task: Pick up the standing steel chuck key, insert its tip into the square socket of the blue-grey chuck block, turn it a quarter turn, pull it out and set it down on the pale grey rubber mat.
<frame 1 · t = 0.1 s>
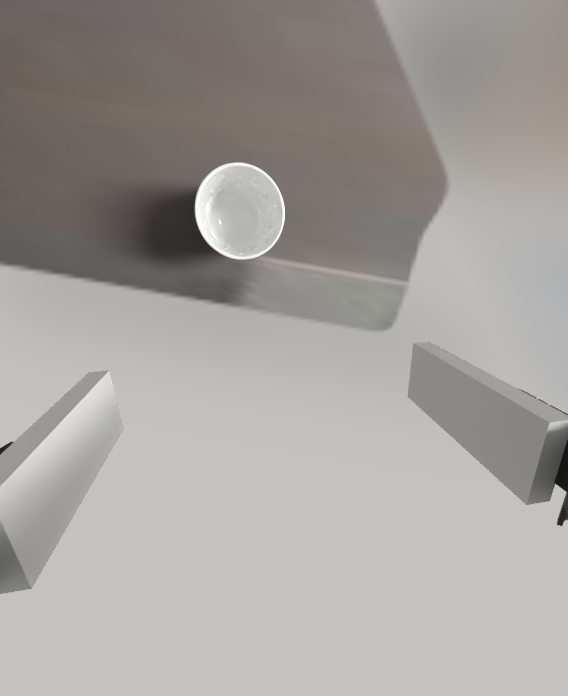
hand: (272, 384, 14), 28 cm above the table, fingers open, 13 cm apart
white cup: (238, 219, 37), on the table
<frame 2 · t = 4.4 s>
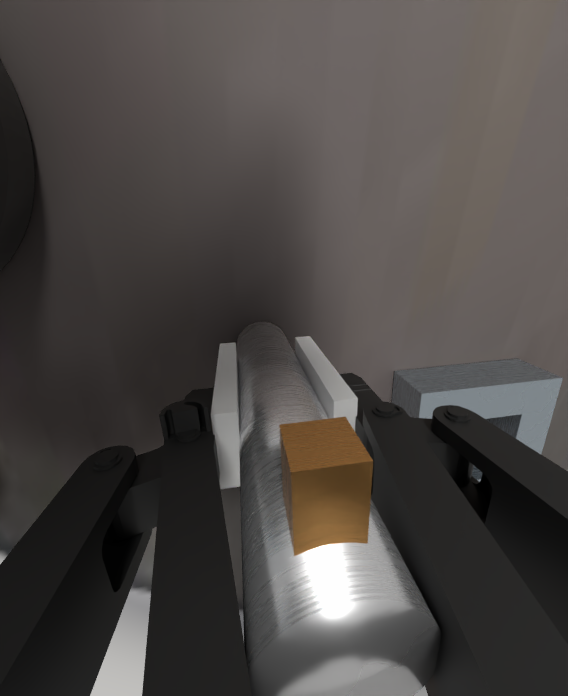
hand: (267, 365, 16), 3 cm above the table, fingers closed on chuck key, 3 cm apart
chuck block: (448, 422, 23), on the table
chuck key: (262, 346, 19), on the table, touching gripper
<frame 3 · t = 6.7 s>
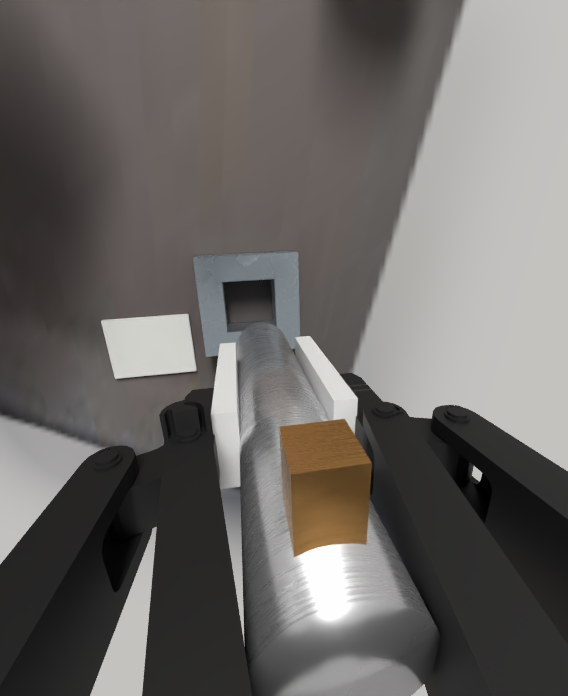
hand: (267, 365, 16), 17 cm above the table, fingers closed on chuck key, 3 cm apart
chuck block: (248, 299, 31), on the table
chuck key: (262, 347, 19), point 14 cm above the table, touching gripper
mat: (152, 345, 32), on the table
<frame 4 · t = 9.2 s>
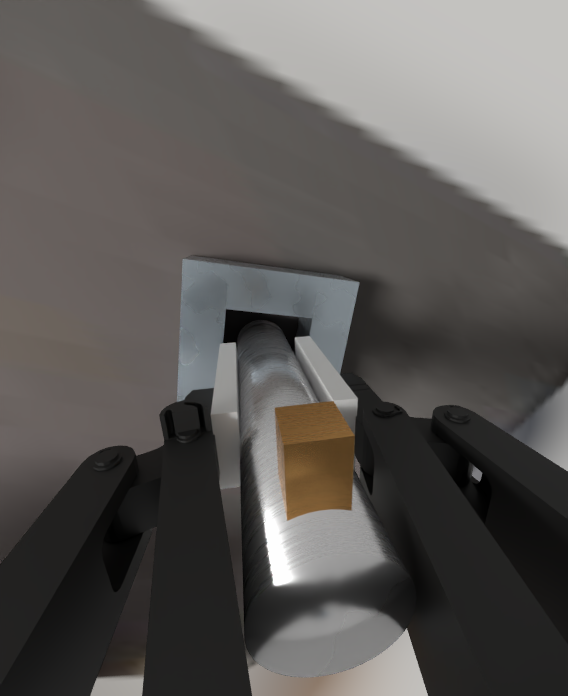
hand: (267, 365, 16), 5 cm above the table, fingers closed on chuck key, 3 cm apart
chuck block: (260, 337, 20), on the table
chuck key: (261, 343, 19), point 1 cm above the table, touching gripper
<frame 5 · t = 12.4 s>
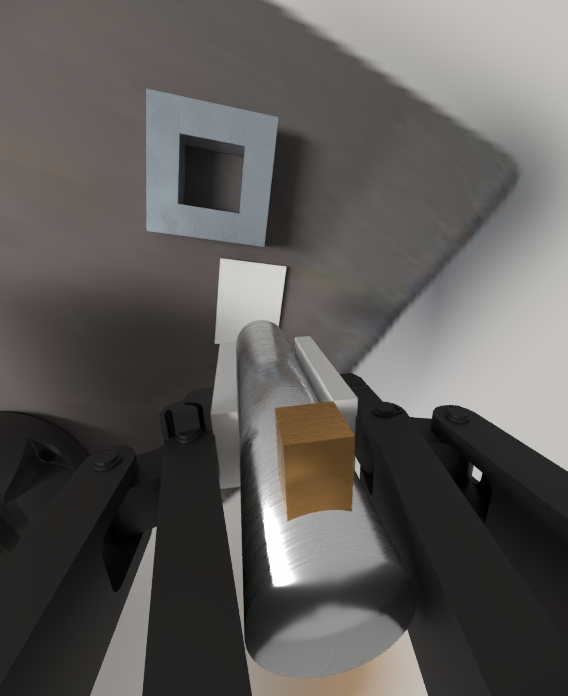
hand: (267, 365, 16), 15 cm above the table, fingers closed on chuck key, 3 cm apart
chuck block: (213, 182, 26), on the table
chuck key: (261, 343, 19), point 12 cm above the table, touching gripper
mat: (249, 305, 30), on the table
when the fingers open (4 cm above the table, at t = 14.4 s): chuck key stays where it is, resting on mat.
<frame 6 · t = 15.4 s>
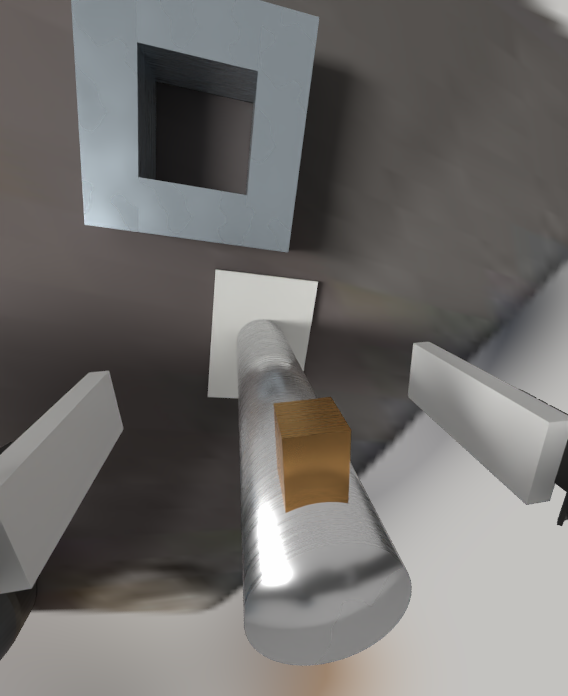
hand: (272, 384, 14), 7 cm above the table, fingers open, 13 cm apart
chuck block: (203, 146, 16), on the table
chuck key: (261, 342, 19), resting on mat
mat: (260, 339, 20), on the table
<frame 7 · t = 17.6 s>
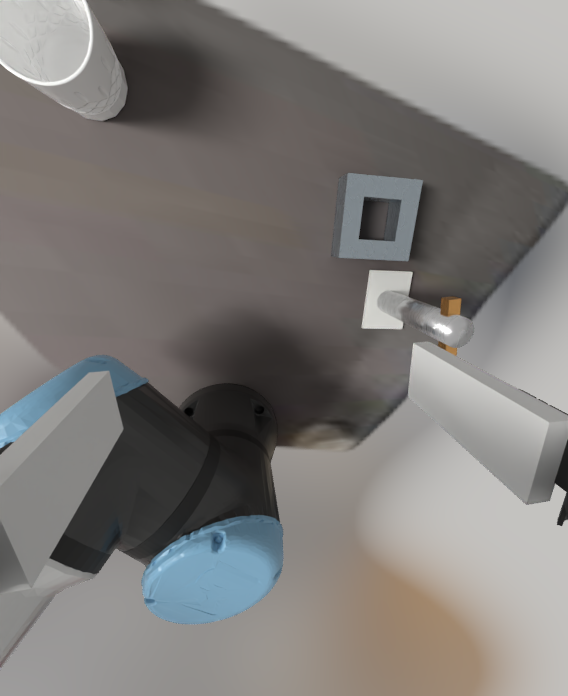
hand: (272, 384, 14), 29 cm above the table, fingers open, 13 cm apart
chuck block: (369, 220, 40), on the table
chuck key: (387, 301, 43), resting on mat
white cup: (93, 82, 32), on the table
mat: (385, 300, 44), on the table
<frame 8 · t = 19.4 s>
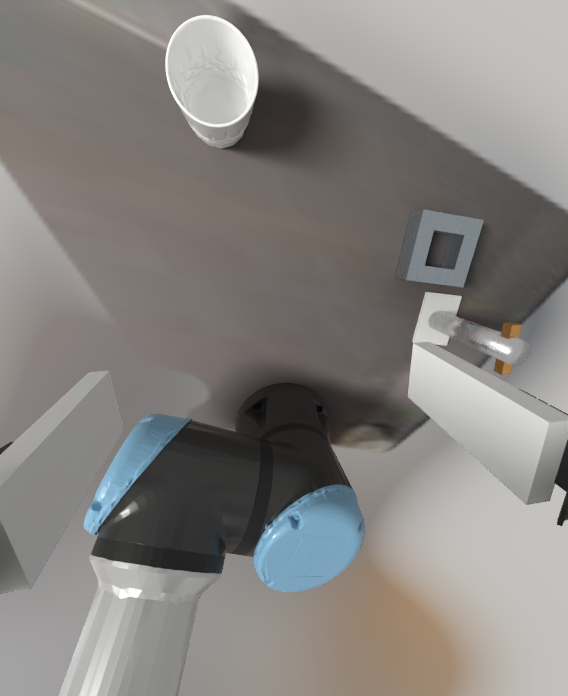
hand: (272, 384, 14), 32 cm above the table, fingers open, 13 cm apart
chuck block: (430, 249, 46), on the table
chuck key: (437, 320, 49), resting on mat
white cup: (218, 116, 37), on the table
mat: (435, 319, 49), on the table
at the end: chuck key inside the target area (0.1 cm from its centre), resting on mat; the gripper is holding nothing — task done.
